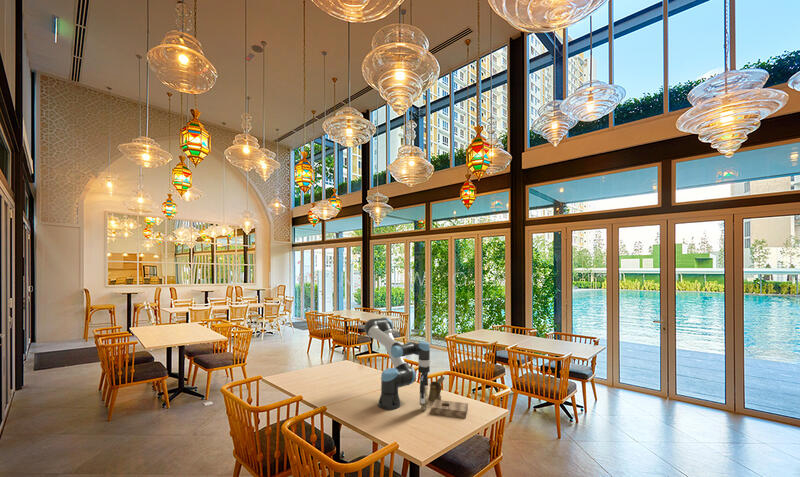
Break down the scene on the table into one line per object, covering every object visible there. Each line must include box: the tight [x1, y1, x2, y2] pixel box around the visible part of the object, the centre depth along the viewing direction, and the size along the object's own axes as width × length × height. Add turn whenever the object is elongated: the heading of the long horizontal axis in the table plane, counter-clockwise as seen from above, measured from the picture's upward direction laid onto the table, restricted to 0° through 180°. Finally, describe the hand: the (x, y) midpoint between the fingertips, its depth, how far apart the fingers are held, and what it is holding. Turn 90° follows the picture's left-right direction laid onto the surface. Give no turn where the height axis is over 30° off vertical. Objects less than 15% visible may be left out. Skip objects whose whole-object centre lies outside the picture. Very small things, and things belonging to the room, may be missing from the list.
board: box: [430, 399, 469, 419], centre depth 233 cm, size 22×14×4 cm, turn 74°
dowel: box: [419, 385, 429, 412], centre depth 236 cm, size 6×6×15 cm
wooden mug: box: [428, 376, 445, 402], centre depth 254 cm, size 9×14×18 cm, turn 34°
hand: (423, 401), depth 236 cm, fingers open, 6 cm apart
